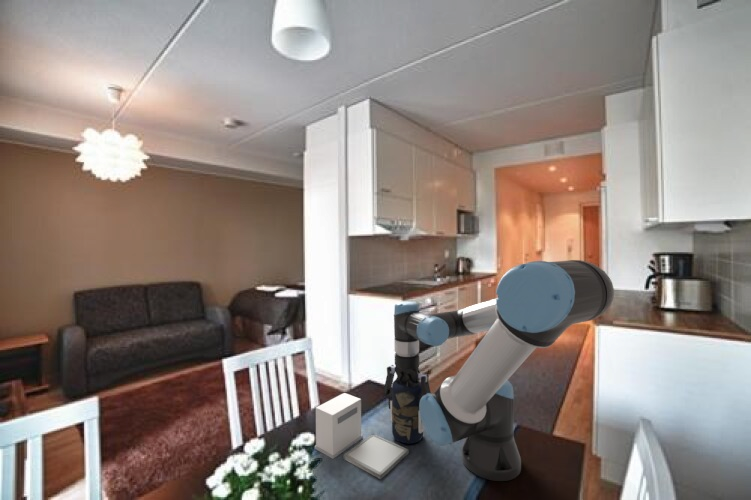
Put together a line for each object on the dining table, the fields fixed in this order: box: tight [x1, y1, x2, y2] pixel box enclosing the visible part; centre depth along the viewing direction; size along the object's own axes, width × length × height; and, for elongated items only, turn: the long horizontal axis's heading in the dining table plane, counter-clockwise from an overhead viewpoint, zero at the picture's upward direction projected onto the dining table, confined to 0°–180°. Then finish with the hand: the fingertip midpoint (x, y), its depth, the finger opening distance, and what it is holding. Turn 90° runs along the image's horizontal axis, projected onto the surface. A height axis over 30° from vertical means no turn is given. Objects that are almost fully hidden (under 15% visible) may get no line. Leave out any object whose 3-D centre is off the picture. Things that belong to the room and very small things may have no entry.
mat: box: [342, 433, 410, 480], centre depth 91 cm, size 13×13×1 cm
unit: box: [314, 392, 364, 460], centre depth 97 cm, size 8×13×12 cm, turn 142°
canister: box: [391, 379, 424, 444], centre depth 100 cm, size 10×10×18 cm
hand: (407, 425), depth 100 cm, fingers closed on canister, 9 cm apart
